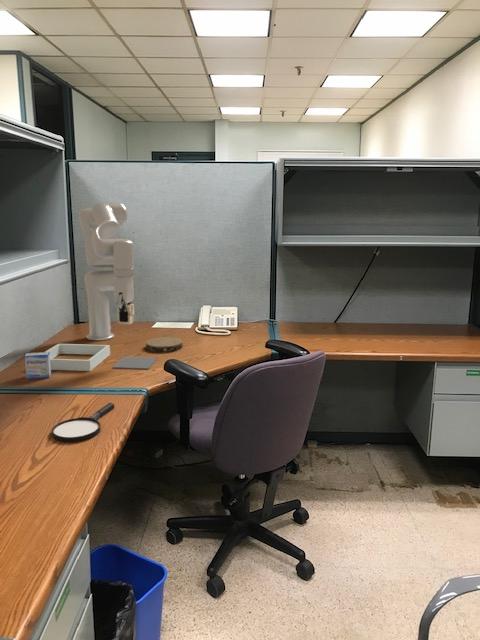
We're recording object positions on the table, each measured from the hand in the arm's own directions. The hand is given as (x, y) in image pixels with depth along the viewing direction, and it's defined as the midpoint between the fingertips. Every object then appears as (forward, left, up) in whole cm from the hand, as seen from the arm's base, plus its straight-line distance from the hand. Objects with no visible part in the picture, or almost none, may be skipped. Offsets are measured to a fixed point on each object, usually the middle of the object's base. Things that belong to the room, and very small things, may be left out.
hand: (126, 319), depth 189 cm
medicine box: (+19, -27, -18) cm, 38 cm away
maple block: (0, 0, -1) cm, 1 cm away
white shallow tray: (0, -22, -18) cm, 28 cm away
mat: (0, +3, -18) cm, 18 cm away
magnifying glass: (+56, +6, -18) cm, 59 cm away
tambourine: (-24, +9, -18) cm, 31 cm away
